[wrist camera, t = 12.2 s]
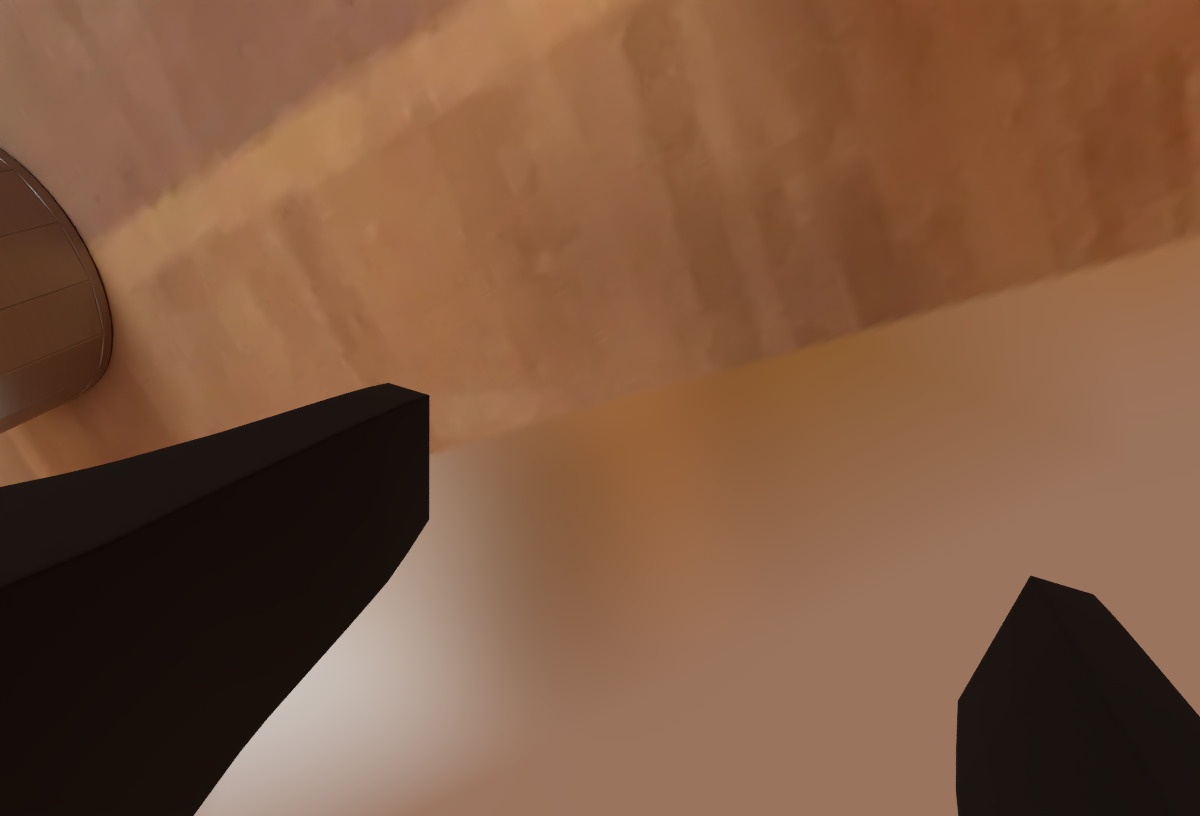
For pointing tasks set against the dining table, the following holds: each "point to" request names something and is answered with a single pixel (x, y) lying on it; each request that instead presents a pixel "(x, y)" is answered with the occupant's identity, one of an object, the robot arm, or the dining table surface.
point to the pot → (45, 303)
